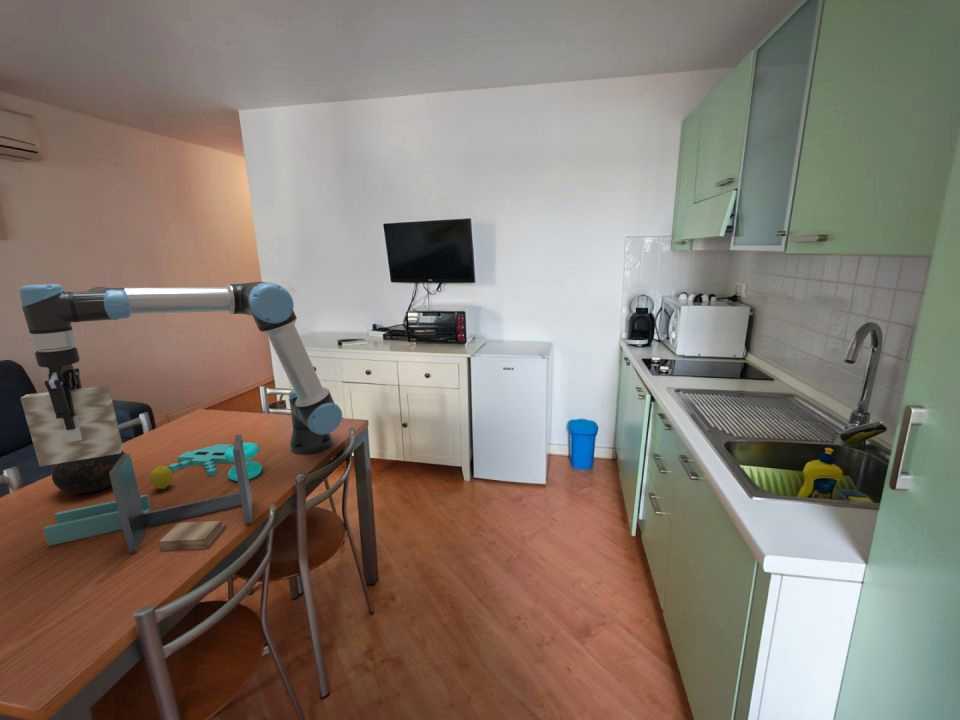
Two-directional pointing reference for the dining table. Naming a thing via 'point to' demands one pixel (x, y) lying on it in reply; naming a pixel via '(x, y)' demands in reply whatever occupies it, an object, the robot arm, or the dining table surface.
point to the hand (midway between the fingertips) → (78, 437)
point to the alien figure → (203, 458)
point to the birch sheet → (93, 421)
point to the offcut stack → (192, 535)
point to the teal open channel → (87, 522)
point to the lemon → (161, 477)
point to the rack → (138, 521)
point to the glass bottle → (85, 474)
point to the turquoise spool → (252, 466)
